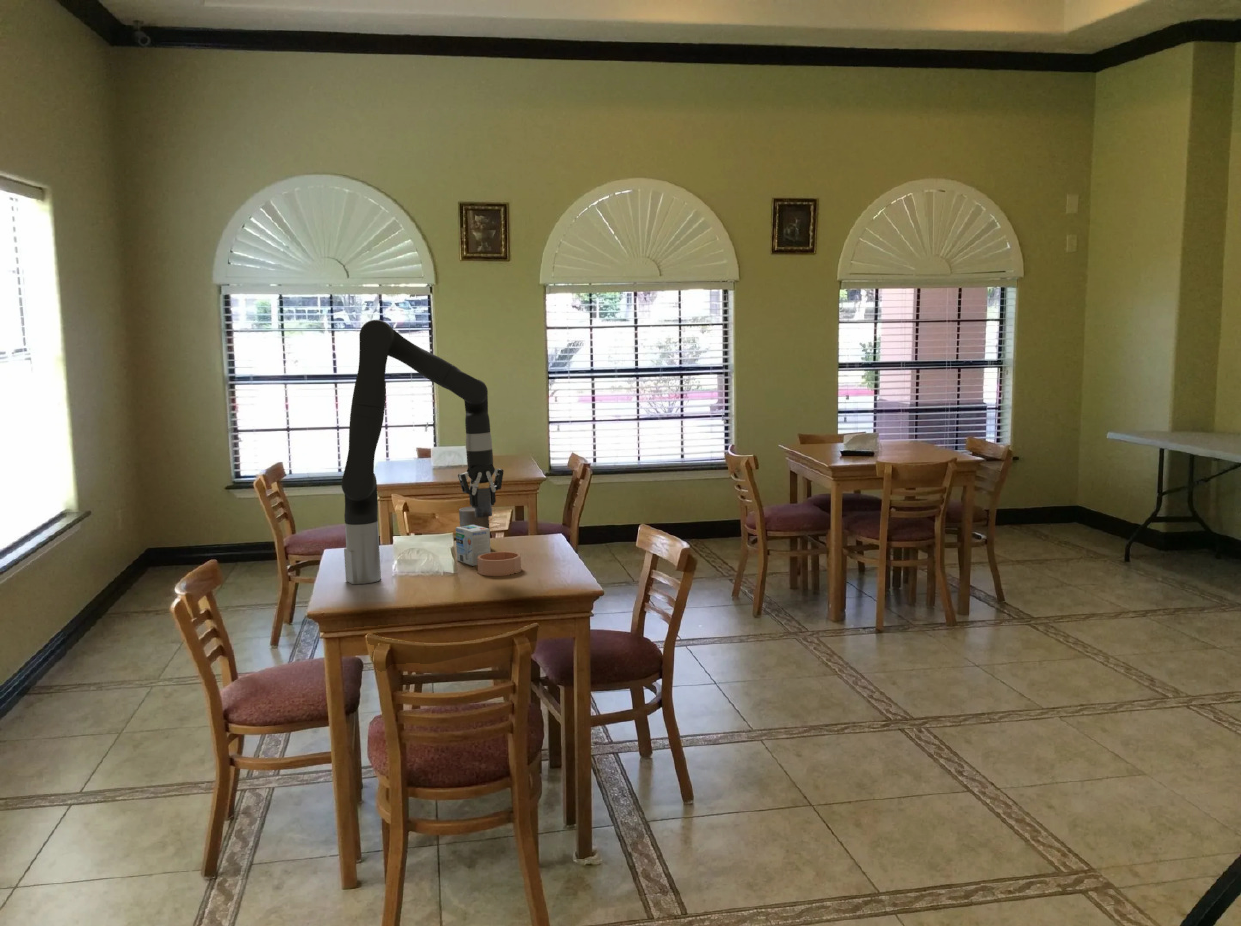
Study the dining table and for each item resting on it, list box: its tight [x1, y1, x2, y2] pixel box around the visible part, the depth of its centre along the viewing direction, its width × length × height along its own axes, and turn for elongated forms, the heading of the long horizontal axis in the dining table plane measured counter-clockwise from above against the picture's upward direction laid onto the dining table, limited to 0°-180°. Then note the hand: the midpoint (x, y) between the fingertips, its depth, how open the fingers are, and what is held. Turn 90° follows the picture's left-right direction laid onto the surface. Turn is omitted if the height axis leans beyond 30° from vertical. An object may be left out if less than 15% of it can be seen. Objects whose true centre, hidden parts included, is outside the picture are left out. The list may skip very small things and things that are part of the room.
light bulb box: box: [455, 525, 492, 567], centre depth 315 cm, size 11×7×11 cm, turn 37°
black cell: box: [473, 482, 493, 517], centre depth 296 cm, size 5×5×10 cm
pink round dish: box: [477, 551, 522, 577], centre depth 301 cm, size 13×13×4 cm
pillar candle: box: [458, 506, 490, 529], centre depth 334 cm, size 10×10×15 cm
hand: (483, 505), depth 296 cm, fingers closed on black cell, 5 cm apart
